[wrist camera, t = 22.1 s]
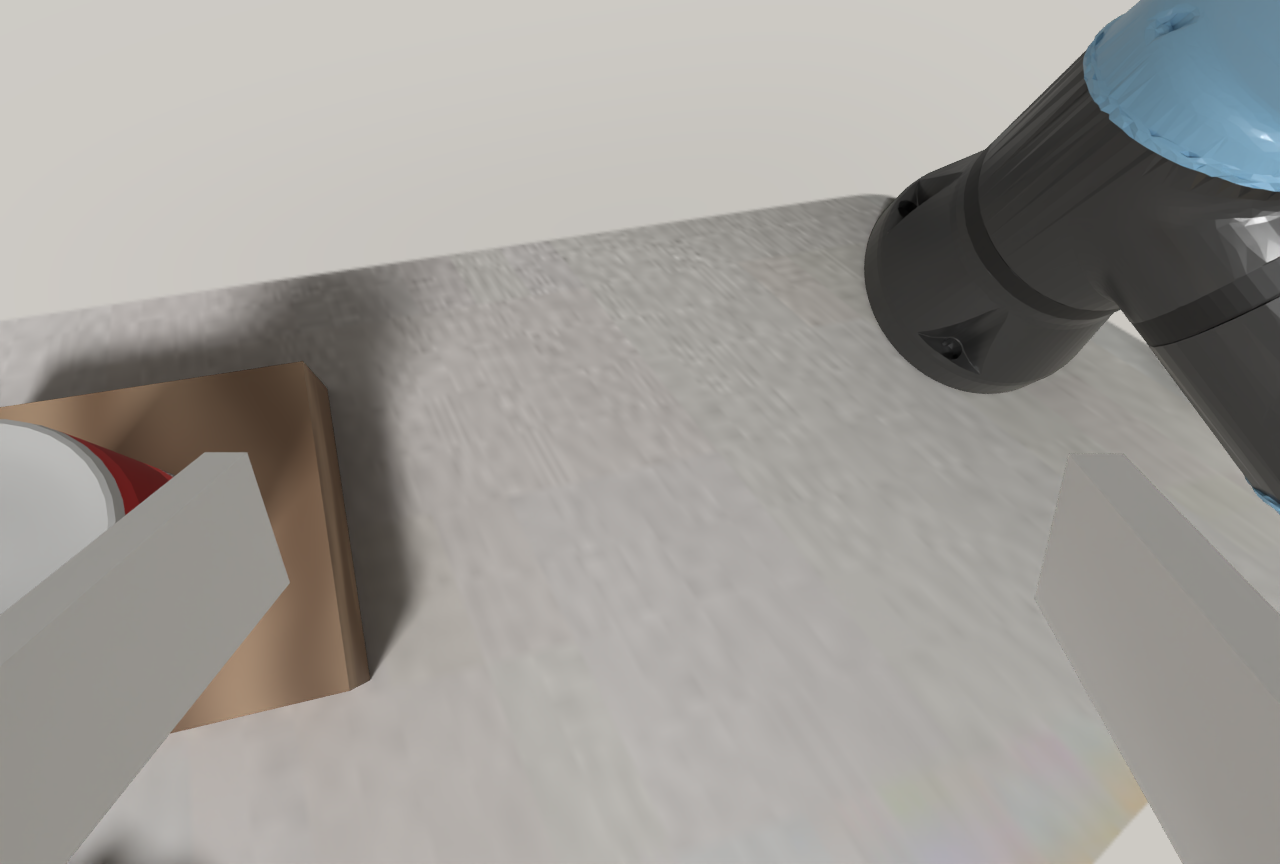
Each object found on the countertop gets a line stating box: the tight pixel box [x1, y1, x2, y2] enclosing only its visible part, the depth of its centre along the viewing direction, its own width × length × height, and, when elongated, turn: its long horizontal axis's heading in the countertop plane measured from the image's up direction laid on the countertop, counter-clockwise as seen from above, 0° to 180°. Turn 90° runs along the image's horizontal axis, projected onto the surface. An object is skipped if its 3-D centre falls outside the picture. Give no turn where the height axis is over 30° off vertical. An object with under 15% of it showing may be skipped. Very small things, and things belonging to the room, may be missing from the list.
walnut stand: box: [0, 361, 370, 733], centre depth 37 cm, size 16×16×5 cm
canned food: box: [0, 419, 176, 615], centre depth 29 cm, size 8×8×11 cm
